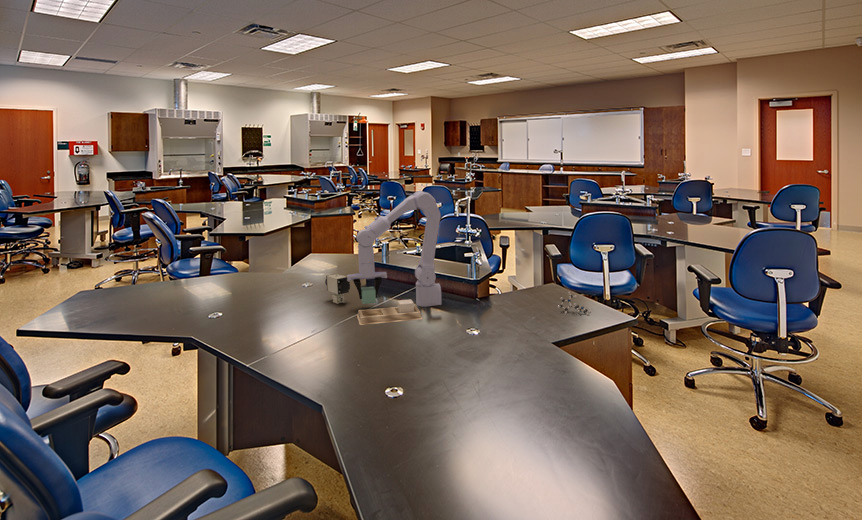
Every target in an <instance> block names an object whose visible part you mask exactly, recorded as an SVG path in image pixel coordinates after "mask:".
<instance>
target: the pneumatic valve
mask: <svg viewBox="0 0 862 520" xmlns="http://www.w3.org/2000/svg"><path fill="white" fill-rule="evenodd" d="M325 276H326V277H325V281H324V283H325V285H326V291H327V292H331V293H332V296H331V297H332V303H333V304H337V305H339V304H342V303H343V304H344V303H345V295H344V294H348V293H349V291H350V290H351V283H350V282H351V281H348V280H347V275H343V274H342V275H341V274H339V273H333V274H328V275H325Z"/></svg>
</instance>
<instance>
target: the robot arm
mask: <svg viewBox="0 0 862 520" xmlns="http://www.w3.org/2000/svg"><path fill="white" fill-rule="evenodd" d="M415 210H416V211H417V210H420V211H421V212H422V213H423V214H424V216H425V217H426V221H425V227H424V234H423V235H424V236H423V239H422V240H423V241H422V247H421V248H422V249H421V254H420V258H419V261H418V265H417V266H416V268H415V269H414V277H415V278H416V279H417V281H416V282H415V297H416V298H415V299H416V300H415V302H416V303H415V304H416V306H418V307H423V308H424V307H426V308H427V307H432V306H441V305H442V287H441V284H440V283H436V282H435V281H436V278H437V276H436V273H435V267H436V266H435V256H436V249H437V243H438V242H437V241H438V236H439V229H440V228H439V227H440V222H441V216H442V215H441V212H440V209H439V207H438V204H437V201H436V198H435V197H433V196H432V194H430V193H429V192H426V191H422V190H417V191H415V192H413V194H411V195H409V196H407V197H406V198H405V199H403V200H402V201H401V202H400V203H399V204H398V205H397V206H395V207H394V208H393V209H392V210H390V212H388V214H386V215H385V216H383V215H380V216H376V217H374V219H373V221H372V222H370V223H369V224H368V225H364V226H363V227H364V229H360V230H359V231H358V232H357V235H356V236H355V239H356V242H357V244H358V245H357V248H358V250H357V256H358V257H357V258H358V273H353V274H347V275H346V277H347V280H348V281H349V282H351V281H352V282H353V284H354V285H355V288H356V290H357V292H358V296H359V297H358V298H359V299H360V300H361V299H362V294H361V288H362V282H361V281H362V280H371V279H373V283H374V285H373V287H374V288H375V292H376V299H378V294H379V293H378V292H379V290H380V286H381V284H382V283H383V282H382V281H383V280H382V279H388V273H387V271H376V269H375V254H374V253H375V251H374V243H375V240H376V239H378V238H380V237H381V236H382V235H383V234H384V233H386V232H387V231H388V230H390V228H391V225H392V223H393V222H394V221H396V220H397V219H398V218H400V217H401V216H403V215H404V214H405V213H407V212H408V211H415Z"/></svg>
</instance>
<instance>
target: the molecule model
mask: <svg viewBox="0 0 862 520" xmlns="http://www.w3.org/2000/svg"><path fill="white" fill-rule="evenodd" d="M567 294H569V296H568V299H565V298H564V297H563V296H562V297H560V300H561V304H559V305H557V308H558V309H560V308H563V309H564V311H565V312H564V314H565V315H567V314H568V313H569V308H572V307H573V308H574V309H575V310H577V313H581V312H582V313H583V314H586V315H587V316H590V314H591V313H592V310H588V308H585V307H584V306H581V305H579V304H577V303H576V302H574V303H573V304H572V303H571V301H572V300H571V299H573V298H577V295H576V294H575V295H573V294H571V291H568V292H567ZM564 302H568V303H569V305H568V307H564V305H563V304H564Z"/></svg>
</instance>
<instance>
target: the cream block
mask: <svg viewBox="0 0 862 520" xmlns="http://www.w3.org/2000/svg"><path fill="white" fill-rule="evenodd" d="M396 303H397V307H398V314H399V313H410V312H414V305H415V303H414V301H413V300H412V299H401V300H397V301H396Z"/></svg>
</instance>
